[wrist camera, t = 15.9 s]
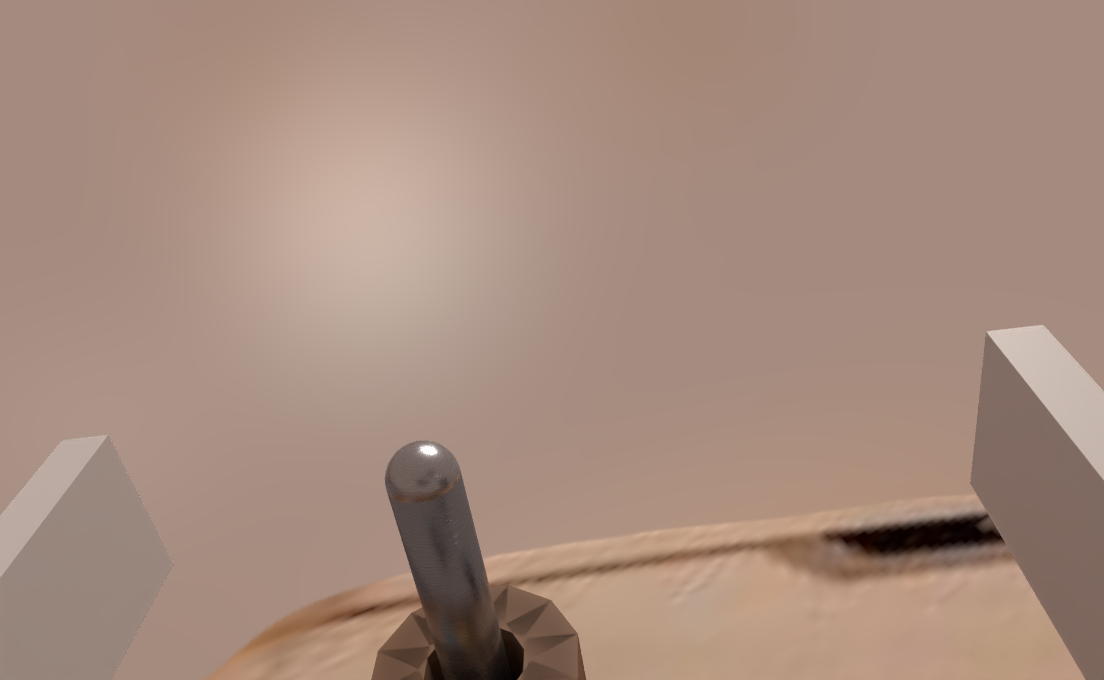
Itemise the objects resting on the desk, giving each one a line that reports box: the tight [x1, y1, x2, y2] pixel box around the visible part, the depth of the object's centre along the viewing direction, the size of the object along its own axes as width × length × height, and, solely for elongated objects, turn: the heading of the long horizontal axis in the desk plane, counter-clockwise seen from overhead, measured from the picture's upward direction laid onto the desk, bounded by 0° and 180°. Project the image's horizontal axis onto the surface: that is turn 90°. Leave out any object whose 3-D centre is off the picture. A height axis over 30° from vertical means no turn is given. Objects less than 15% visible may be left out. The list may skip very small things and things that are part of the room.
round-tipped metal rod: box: [385, 441, 513, 680], centre depth 39 cm, size 3×3×18 cm
